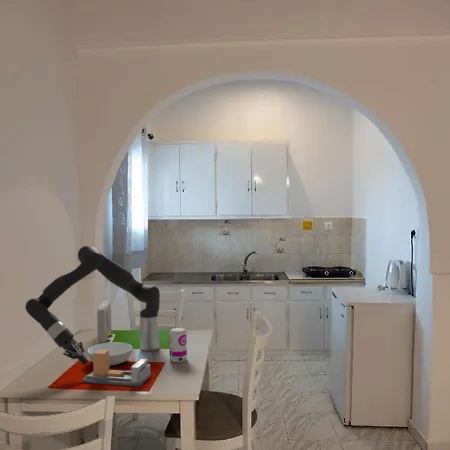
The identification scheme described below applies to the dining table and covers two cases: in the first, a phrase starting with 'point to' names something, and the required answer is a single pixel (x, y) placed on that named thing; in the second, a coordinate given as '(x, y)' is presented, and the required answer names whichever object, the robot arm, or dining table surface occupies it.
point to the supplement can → (178, 344)
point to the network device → (104, 322)
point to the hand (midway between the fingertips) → (86, 363)
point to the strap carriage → (103, 365)
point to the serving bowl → (113, 351)
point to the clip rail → (124, 376)
